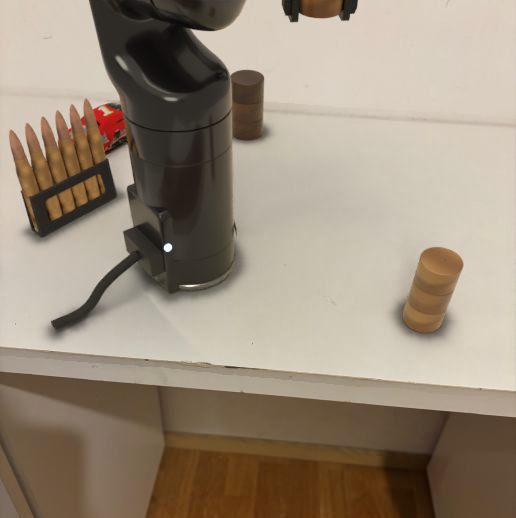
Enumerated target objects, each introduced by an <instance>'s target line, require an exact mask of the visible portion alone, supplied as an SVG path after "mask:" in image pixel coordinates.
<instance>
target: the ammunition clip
mask: <svg viewBox="0 0 516 518" xmlns="http://www.w3.org/2000/svg"><path fill="white" fill-rule="evenodd" d="M82 109H83V116H84V120H85V126H86V136H85V132H84V129H83V125H82V122H81V116H80V113H79V111H78V109H77V108H76V106H75V105H74V104H73V103H71V104H70V106H69V122H70V128H72V134H73V143H72V140H71V137H70V134H69V131H68V129H69V128H68V125H67V122H66V120H65V118H64V116H63V113H61V111H60V110H59V109H57V110H56V111H55V120H54V121H55V130H56V135H57V141H58V140H59V146H60V151H59V148H58V142H57V141H56V137H55V134H54V132H53V129H52V127H51V125H50V123H49V121H48V120H47V118H46V117H45V116H41V118H40V132H41V138H42V141H43V146H44V152H45V154H44V152H43V149H42V147H41V144H40V141H39V139H38V136H37V133H36V132H35V130H34V129H33V127H32V126H31V125H30V123H29V122H26V123H25V127H24V134H25V142H26V145H27V149H28V153H29V157H30V158H29V159H30V162H29V159H28V157H27V154H26V152H25V149H24V145H23V144H22V141H21V140H20V138H19V137H18V134H17V133H16V132H15V131H14V130H13V129H9V133H8V140H9V147H10V151H11V155H12V158H13V162H14V166H15V173H16V177H17V180H18V183H19V185H20V189H21V190H20V194H21V197H22V201H23V204H24V208H25V212H26V215H27V218H28V221H29V225H30V229H31V231H32V232H34V233H35V234H36V235H38V236H39V237H40V238H45V237H46V236H48V235H49V234H52V233H53V232H55V231H57V230H58V229H61V228H62V227H65V226H66V225H68V224H70V223H72V222H73V221H76V220H77V219H79V218H81V217H83V216H85V215H87V214H89V213H91V212H92V211H94V210H96V209H97V208H99V207H101V206H103V205H105V204H107V203H108V202H110V201H113V200H115V199H116V198H117V197H118V193H117V189H116V185H115V181H114V177H113V176H114V175H113V172H112V168H111V165H110V161H109V158H107V157H106V153H105V151H104V146H103V142H102V137H101V134H100V132H99V129H98V125H97V122H96V118H95V114H94V111H93V109H94V108H93V106H92V105H91V102H90V101H89V100H88V98H87V97H85V98H84V99H83V106H82ZM86 137H87V138H86Z"/></svg>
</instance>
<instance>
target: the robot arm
mask: <svg viewBox="0 0 516 518" xmlns="http://www.w3.org/2000/svg"><path fill="white" fill-rule="evenodd" d="M88 3H89V7H90V8H89V9H90V12H91V16H92V20H93V25H94V29H95V32H96V38H97V42H98V47H99V51H100V55H101V58H102V64H103V66H104V70H105V72H106V75H107V77H108V79H109V81H110V82H111V85H112V86H113V87H114V89H115V91H116V93H117V94H118V97H119V102H121V108H122V112H123V118H124V124H125V130H126V136H127V140H126V142H127V148H128V154H129V161H130V165H131V166H130V167H131V174H132V179H133V182H132V183H131V184H128V185H127V186H126V193H127V199H128V204H129V210H130V216H131V222H132V227H130V228H128V229H125V230H123V231H122V234H123V238H124V244H125V249H126V250H125V251H126V252H127V253H128V255H127V256H126V257H125V258H123V259H122V260H121V261H120V262H119V263H117V264H116V265H115V266H114V267H112V268H111V269H110V270H109V271H108V272H107V273H106V274H105V275H104V276H103V277H102V278H101V279H100V280H99V282H98V283H97V284H96V285H95V287H94V289H92V291H91V294H90V295H89V296H88V298H87V299H86V301H85V302H84V303H83V304H81V306H80V307H78V308H77V309H75V310H74V311H72V312H70V313H67V314H64V315H62V316H59V317H57V318H55V319H52V320H50V323H51V326H52V328H53V329H54V331H58V330H59V329H62V328H63V327H67V326H69V325H71V324H74V323H76V322H78V321H80V320H82V319H83V318H85V317H86V316H87V315H89V314H90V313H91V312H92V311H93V310H94V309H95V307H96V306H97V305H98V303H99V301H100V300H101V298H102V296H103V295H104V293H105V292H106V291H107V289H108V288H109V287H110V286H111V285H112V284H113V283H114V282H115V281H116V280H118V279H119V277H121V276H122V275H123V274H124V273H125V272H127V271H128V270H129V269H130V268H132V267H133V266H134V265H135V264H136V263H138V264H139V265H140V267H142V268H143V270H144V271H145V272H146V273H147V274H148V276H150V277H151V278H152V279H153V280H154V281H156V282H157V283H158V284H159V286H161V287H162V288H163V290H165V291H166V292H167V294H169V295H171V294H174V293H177V292H180V291H184V292H185V291H187V292H189V291H190V292H191V291H193V292H194V291H200V290H205V289H209V288H211V287H214V286H217V285H218V284H220V283H222V282H223V281H224V280H226V279H227V278H228V277H229V276H230V275H231V274H232V272H233V271H234V268H235V265H236V250H235V236H236V238H237V237H238V233H237V232H238V231H237V224H236V222H235V212H234V208H235V207H234V206H235V205H234V158H233V157H234V156H233V155H234V153H233V152H234V150H233V147H234V146H233V135H232V83H231V77H230V76H231V74H230V71H229V69H228V67H227V65H226V64H225V62H224V61H223V60H222V59H221V58H220V57H219V56H217V55H216V54H215V53H214V52H213V51H212V50H211V49H209V47H207V46H206V45H205V44H204V43H203V42H202V41H201V40H200V39H199V38H198V37H197V36H196V35H195V33H194V32H193V31H200V32H217V31H222V30H224V29H226V28H228V27H229V26H231V25H232V24H233V23H234V22H235V21H236V20H237V19H238V17H239V16H240V15H241V13H242V11H243V9H244V7H245V4H246V3H247V0H88ZM299 3H300V0H281V7H282V10H283V13H284V15H285V17H288V20H289V23H298V22H299V16H300V13H299ZM358 4H359V0H343V6H342V12H341V13H340V14H339V15H337V17H339V19H340V21H341V22H349V21H350V19H351V15H354V14H355V13H356V11H357V9H358Z"/></svg>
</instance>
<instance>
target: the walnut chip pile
mask: <svg viewBox="0 0 516 518" xmlns="http://www.w3.org/2000/svg"><path fill="white" fill-rule="evenodd" d="M230 77H231V83H232V137H233V138H235V139H237V140H243V141H253V140H256V139H258V138H260V137H261V136H262V135H263V133H264V107H265V106H264V104H265V75H264V74H263V73H262V72H259V71H257V70H253V69H239V70H236V71H234V72H232V73H231V74H230Z"/></svg>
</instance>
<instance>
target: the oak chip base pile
mask: <svg viewBox="0 0 516 518" xmlns="http://www.w3.org/2000/svg"><path fill="white" fill-rule="evenodd" d="M419 255H420V256H419V259H418V262H417V266H416V269H415V271H414V275H413V278H412V282H411V284H410V288H409V292H408V295H407V298H406V301H405V305H404V308H403V311H402V320H403V322H404V324H405V325H406V326H407V327H408V328H410V329H411V330H412V331H415V332H418V333H424V334H426V333H427V334H428V333H433V332H435V331H437V330H438V329H440V328H441V326H442V324H443V321H444V318H445V315H446V313H447V311H448V308H449V305H450V302H451V300H452V297H453V294H454V292H455V289H456V287H457V284H458V283H459V282H458V281H459V279H460V276H461V274H462V271H463V269H464V261H463V258H462V257H461V255H460V254H459V253H457V252H456V251H454V250H452V249H450V248H447V247H443V246H442V247H441V246H432V247H428V248H426V249H424V250H423V251H422V252H421V253H420V254H419Z"/></svg>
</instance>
